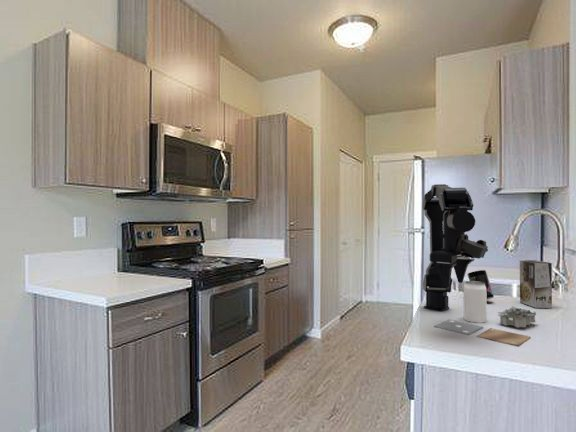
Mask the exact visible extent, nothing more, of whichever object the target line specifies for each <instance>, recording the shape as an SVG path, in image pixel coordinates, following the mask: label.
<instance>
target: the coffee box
mask: <svg viewBox="0 0 576 432" xmlns="http://www.w3.org/2000/svg"><path fill="white" fill-rule="evenodd" d="M552 264H553V263H552V262H548V261H542V260H537V259H533V260H529V259H528V260H527V259H526V260H519V302H520V303H521V304H524V305H526V306H529V307H532V308H535V309H536V308H537V309H539V308H542V309H551V308H553V306H552V305H553V303H552V302H553V299H552V298H553V296H552V295H553V294H552V292H553V291H552V290H553V287H552V286H553V285H552V283H553V281H552V280H553V277H552V276H553V275H552V274H553V273H552V272H553V267H552Z"/></svg>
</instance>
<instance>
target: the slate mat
mask: <svg viewBox="0 0 576 432" xmlns="http://www.w3.org/2000/svg"><path fill="white" fill-rule="evenodd" d="M433 327H434V328H438V329H441V330H446V331H450V332H454V333H459V334H463V335H466V336H470V335H472V334H474V333H476V332H478V331H480V330H482V329H484V326H482V325H477V324H472V323H468V322H463V321H459V320H453V319H447V320H445V321H442V322H440V323H437V324H436V325H433Z"/></svg>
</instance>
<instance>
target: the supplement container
mask: <svg viewBox="0 0 576 432" xmlns="http://www.w3.org/2000/svg"><path fill="white" fill-rule="evenodd" d="M467 277H468V281H479V282H484V283H485V286H486V293H487V300H490V299H491V300H492V299H493V298H494V297H495V295H494V292H493V289H492V286H491V283H490V279H489V278H488V273H487V271H486V270H485V269H483V270H482V269H481V270H475V271H472V272H471V271H470V272H469V273H467Z"/></svg>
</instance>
